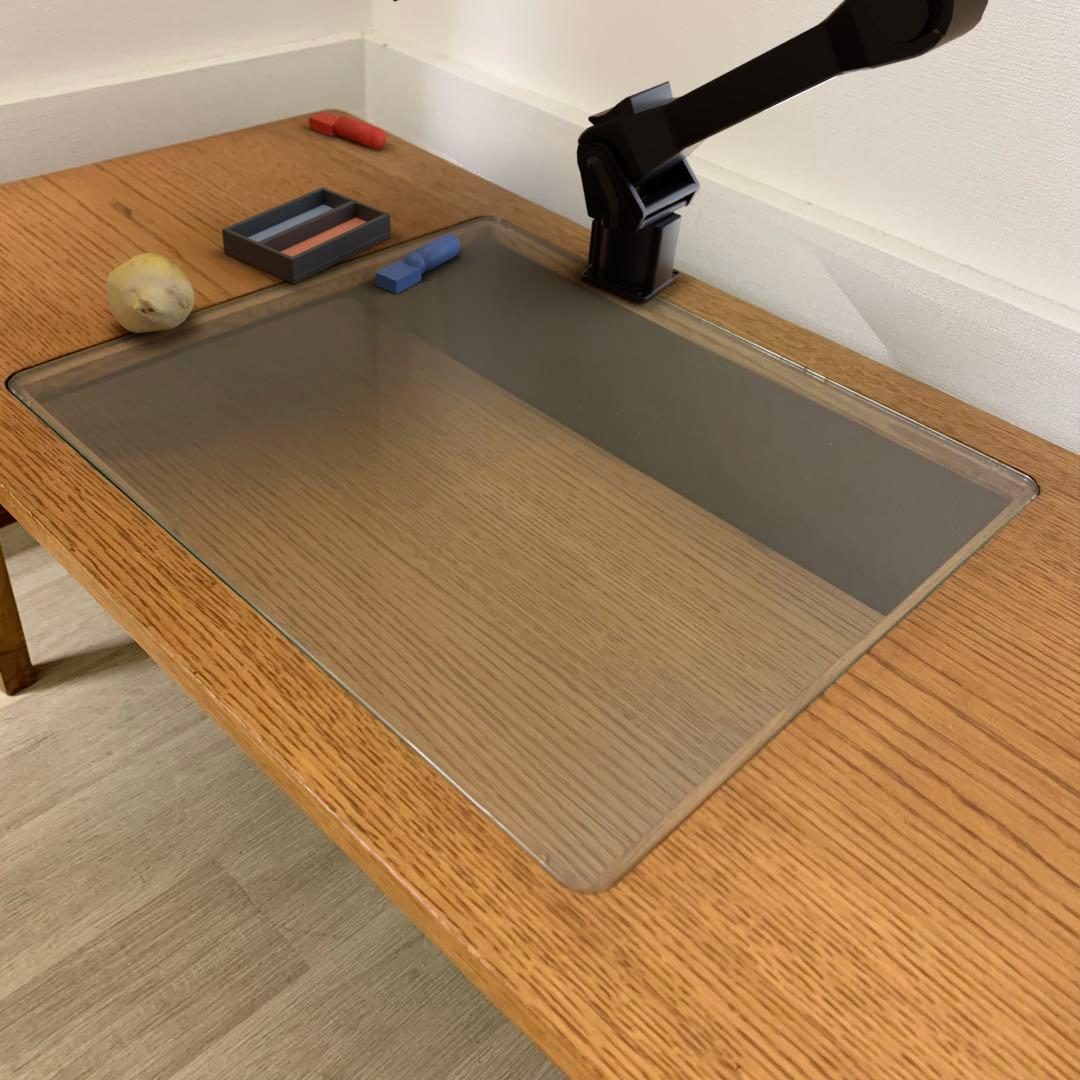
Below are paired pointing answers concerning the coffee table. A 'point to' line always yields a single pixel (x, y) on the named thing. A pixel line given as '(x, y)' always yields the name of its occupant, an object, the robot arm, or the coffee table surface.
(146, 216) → the coffee table surface
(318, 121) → the red capsule-ended rod
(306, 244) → the tray
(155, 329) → the fruit
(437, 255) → the blue block-ended handle
